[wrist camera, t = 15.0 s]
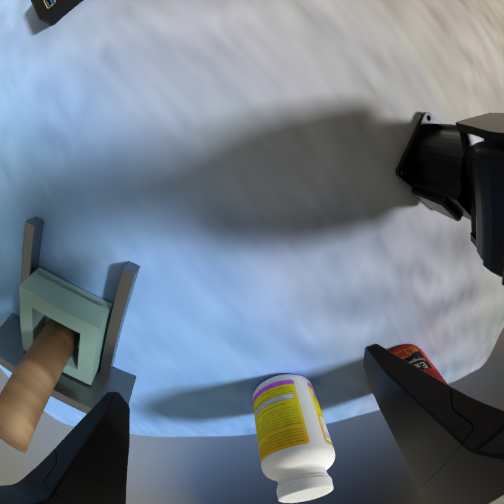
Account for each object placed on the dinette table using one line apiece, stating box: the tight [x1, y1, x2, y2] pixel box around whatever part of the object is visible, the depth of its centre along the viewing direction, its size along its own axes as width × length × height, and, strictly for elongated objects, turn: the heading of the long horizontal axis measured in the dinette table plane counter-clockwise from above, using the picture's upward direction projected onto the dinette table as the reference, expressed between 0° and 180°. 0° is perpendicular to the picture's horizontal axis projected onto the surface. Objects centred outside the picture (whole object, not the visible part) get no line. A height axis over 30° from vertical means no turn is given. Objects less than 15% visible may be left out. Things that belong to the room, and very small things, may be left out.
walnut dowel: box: [0, 319, 81, 452], centre depth 15 cm, size 4×4×13 cm
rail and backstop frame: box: [0, 217, 140, 414], centre depth 19 cm, size 14×16×6 cm
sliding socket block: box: [19, 267, 113, 385], centre depth 20 cm, size 8×8×4 cm
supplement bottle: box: [252, 374, 335, 503], centre depth 22 cm, size 7×7×13 cm
